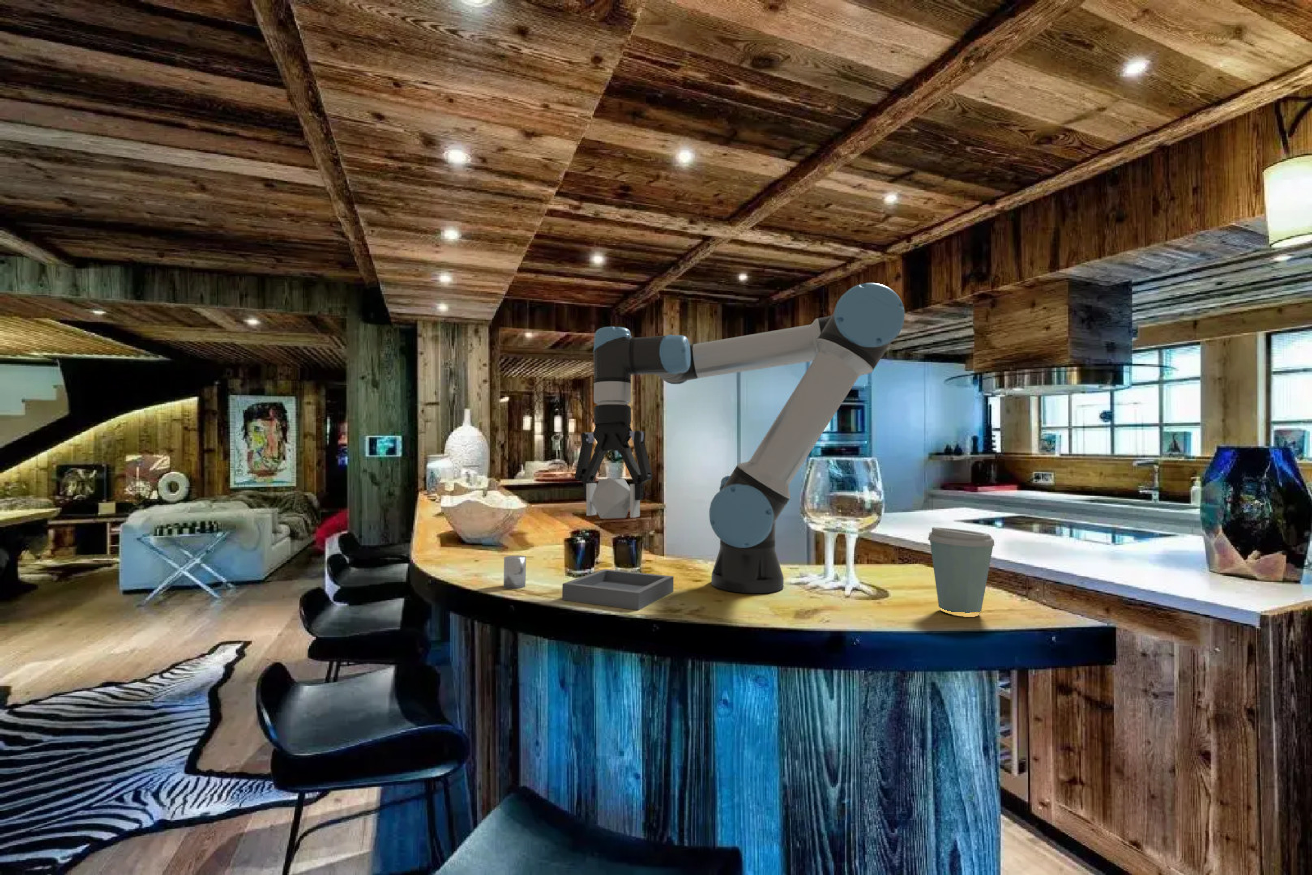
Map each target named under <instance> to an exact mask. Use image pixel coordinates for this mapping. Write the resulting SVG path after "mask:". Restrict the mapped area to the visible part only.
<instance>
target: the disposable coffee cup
mask: <svg viewBox="0 0 1312 875" xmlns="http://www.w3.org/2000/svg"><path fill="white" fill-rule="evenodd" d="M927 540H928V541H929V543H930V545H929V546H930V550H931V551H930V552H931V559H932V566H933V573H934V581H935V589H936V595H937V604H938V608H939V609H940V608H942V609H944V610H947V611H951V612H965V613H970V612H980V611H981V612H982V608H983V604H984V603H983V602H984V599H985V593H986V592H985V591H986V586H987V582H988V575H989V570H990V566H991V559H992V553H993V549H994V548H993V547H994V546H995V540H994V538H993V537H992V536H991V535H990V534H989V533H985V532H979V531H975V530H974V531H973V530H968V529H959V528H950V527H934V526H933V527H931V531H930V532H929V533H928V538H927ZM981 612H980V613H981Z"/></svg>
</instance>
